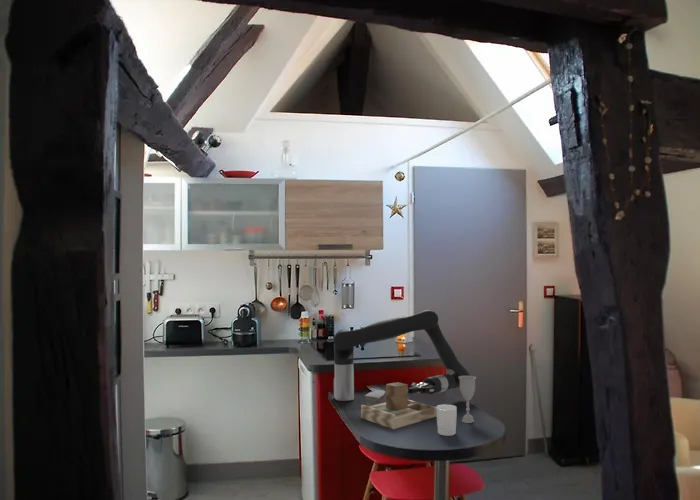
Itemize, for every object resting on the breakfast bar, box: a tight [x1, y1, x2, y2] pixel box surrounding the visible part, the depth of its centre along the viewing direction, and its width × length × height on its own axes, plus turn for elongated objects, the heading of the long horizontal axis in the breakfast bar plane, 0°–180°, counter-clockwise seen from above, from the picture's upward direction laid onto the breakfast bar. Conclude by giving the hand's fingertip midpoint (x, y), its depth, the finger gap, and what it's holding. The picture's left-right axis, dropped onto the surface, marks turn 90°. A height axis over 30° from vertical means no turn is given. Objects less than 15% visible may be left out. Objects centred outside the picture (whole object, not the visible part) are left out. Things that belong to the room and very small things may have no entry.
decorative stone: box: [364, 389, 386, 406], centre depth 240 cm, size 15×7×10 cm
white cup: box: [435, 403, 458, 437], centre depth 204 cm, size 8×8×10 cm
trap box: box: [360, 399, 437, 430], centre depth 225 cm, size 20×25×6 cm
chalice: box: [458, 375, 477, 424], centre depth 219 cm, size 7×7×18 cm
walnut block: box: [385, 381, 409, 411], centre depth 225 cm, size 6×7×10 cm
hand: (409, 391), depth 230 cm, fingers closed
